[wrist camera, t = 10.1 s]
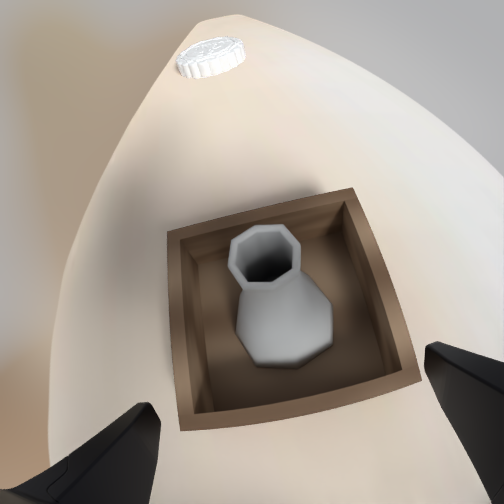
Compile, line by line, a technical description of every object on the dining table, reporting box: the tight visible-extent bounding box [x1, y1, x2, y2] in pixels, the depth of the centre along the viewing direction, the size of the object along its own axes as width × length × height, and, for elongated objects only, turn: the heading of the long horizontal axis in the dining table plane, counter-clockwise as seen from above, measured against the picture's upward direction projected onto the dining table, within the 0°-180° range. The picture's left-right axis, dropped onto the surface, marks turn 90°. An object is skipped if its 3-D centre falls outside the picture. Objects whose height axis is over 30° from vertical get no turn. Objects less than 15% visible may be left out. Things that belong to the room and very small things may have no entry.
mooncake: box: [176, 36, 246, 79], centre depth 44 cm, size 12×12×4 cm
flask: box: [228, 224, 333, 369], centre depth 17 cm, size 7×7×10 cm
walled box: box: [167, 187, 422, 431], centre depth 20 cm, size 14×14×5 cm
